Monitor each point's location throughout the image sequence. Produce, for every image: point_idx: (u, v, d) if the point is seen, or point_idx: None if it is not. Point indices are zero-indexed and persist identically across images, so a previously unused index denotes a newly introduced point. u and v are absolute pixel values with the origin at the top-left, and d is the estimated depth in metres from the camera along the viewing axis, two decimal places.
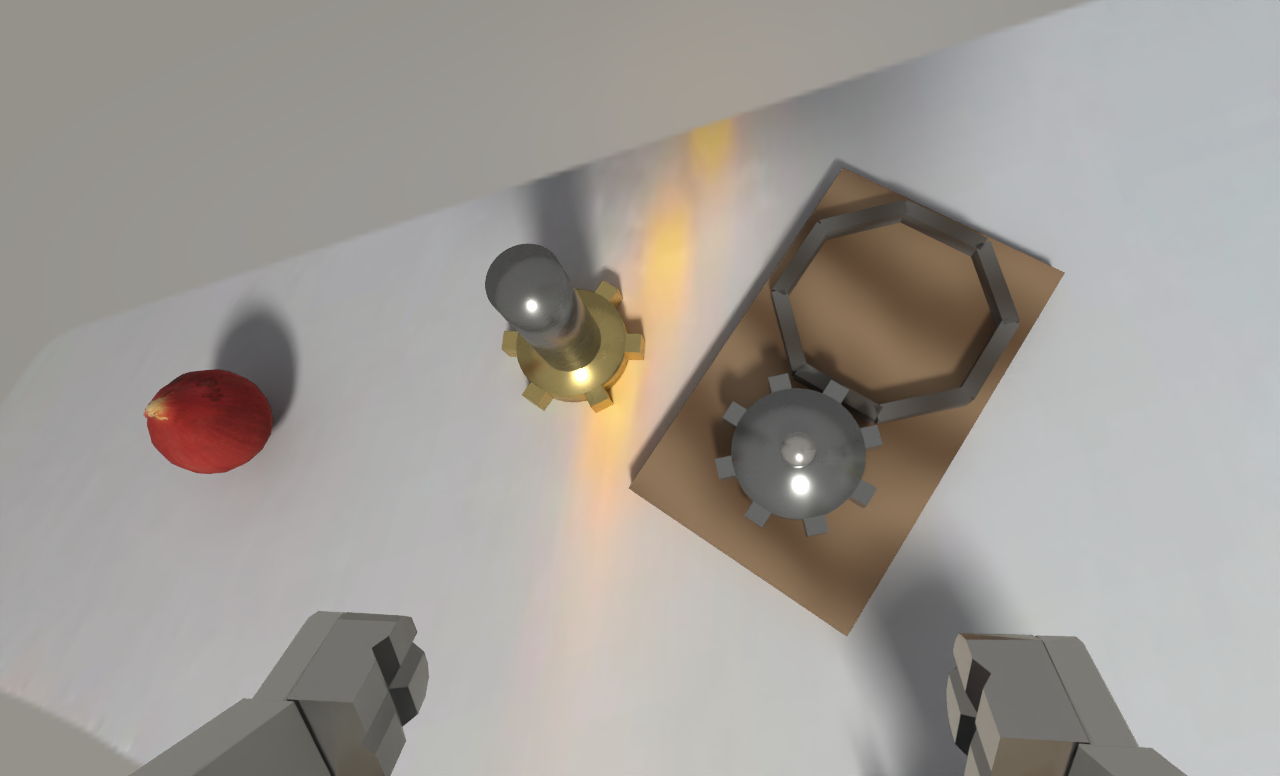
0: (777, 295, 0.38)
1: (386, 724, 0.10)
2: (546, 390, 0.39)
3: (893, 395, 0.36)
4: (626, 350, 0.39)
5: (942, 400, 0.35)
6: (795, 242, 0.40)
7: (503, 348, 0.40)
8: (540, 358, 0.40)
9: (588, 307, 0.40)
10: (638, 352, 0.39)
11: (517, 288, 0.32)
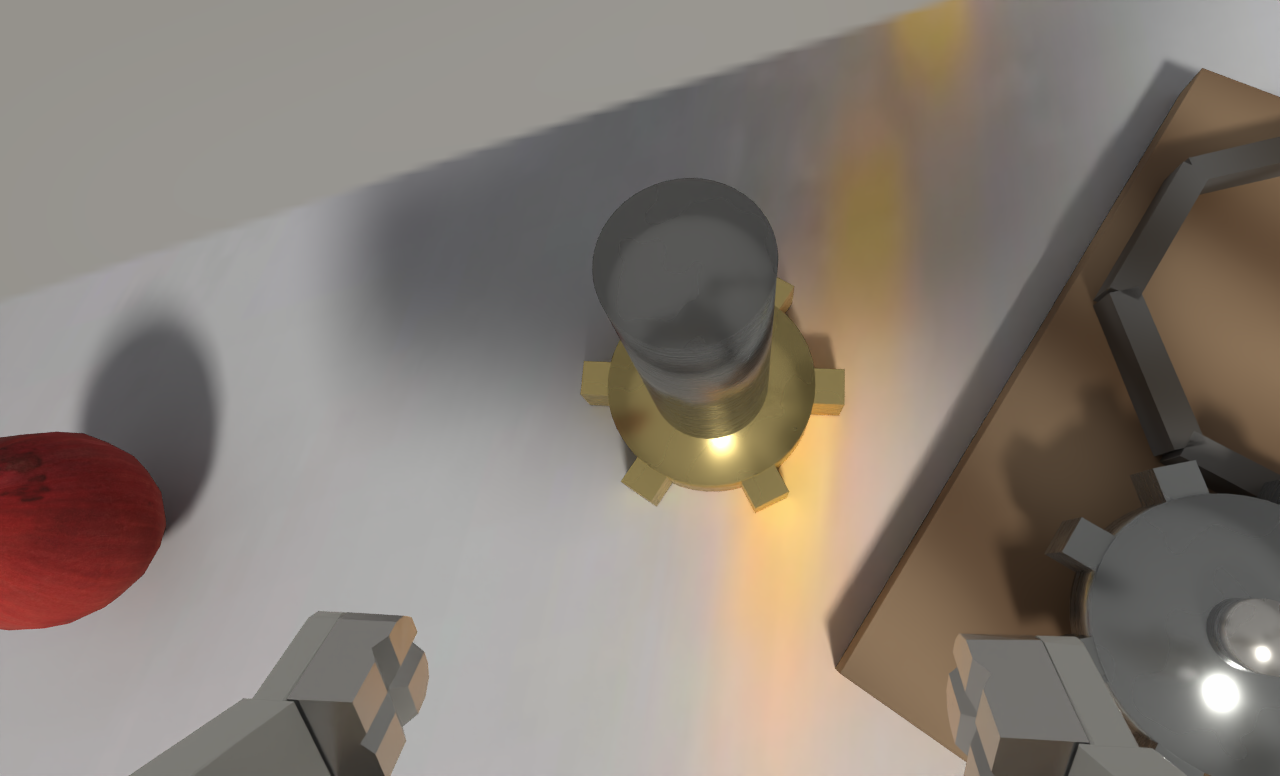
0: (1122, 299, 0.20)
1: (386, 724, 0.10)
2: (667, 473, 0.21)
3: None
4: (818, 400, 0.21)
5: None
6: (1127, 201, 0.21)
7: (583, 393, 0.22)
8: (654, 413, 0.22)
9: None
10: (841, 404, 0.21)
11: (671, 280, 0.13)
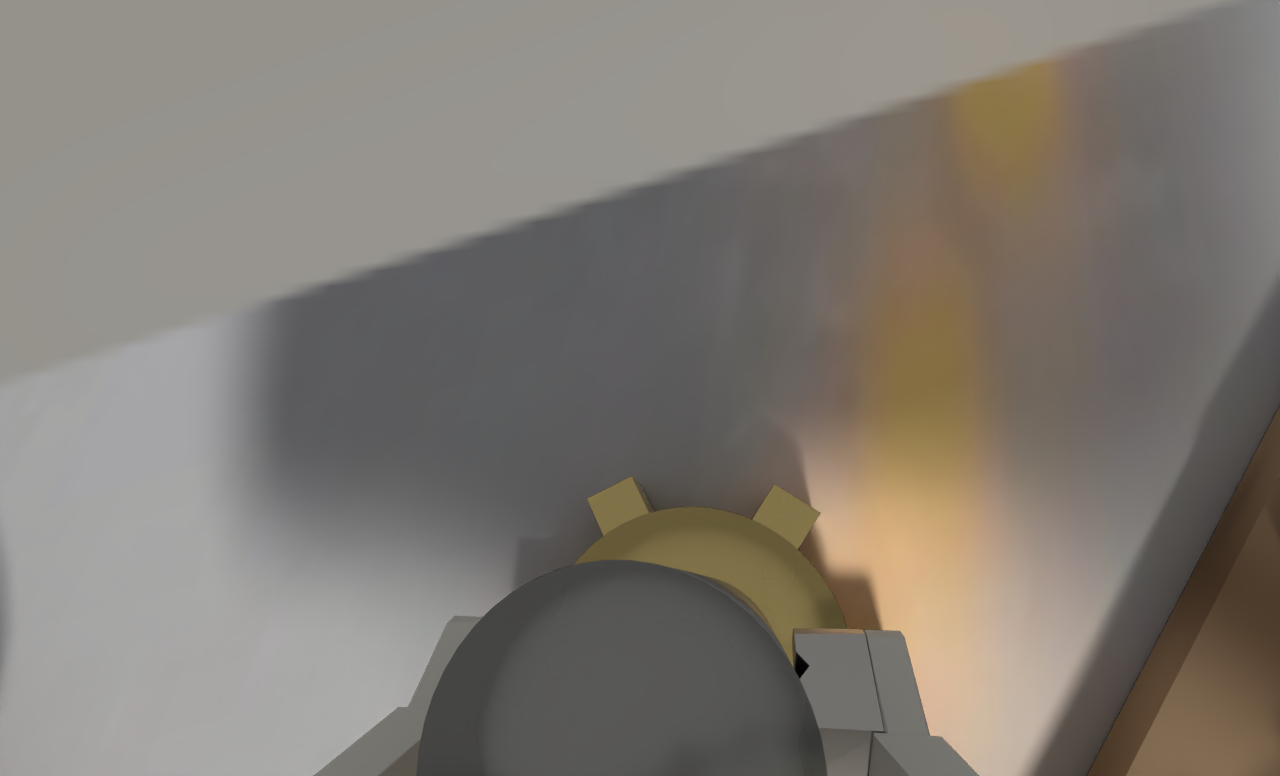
0: None
1: None
2: None
3: None
4: None
5: None
6: None
7: None
8: None
9: (738, 564, 0.15)
10: None
11: None
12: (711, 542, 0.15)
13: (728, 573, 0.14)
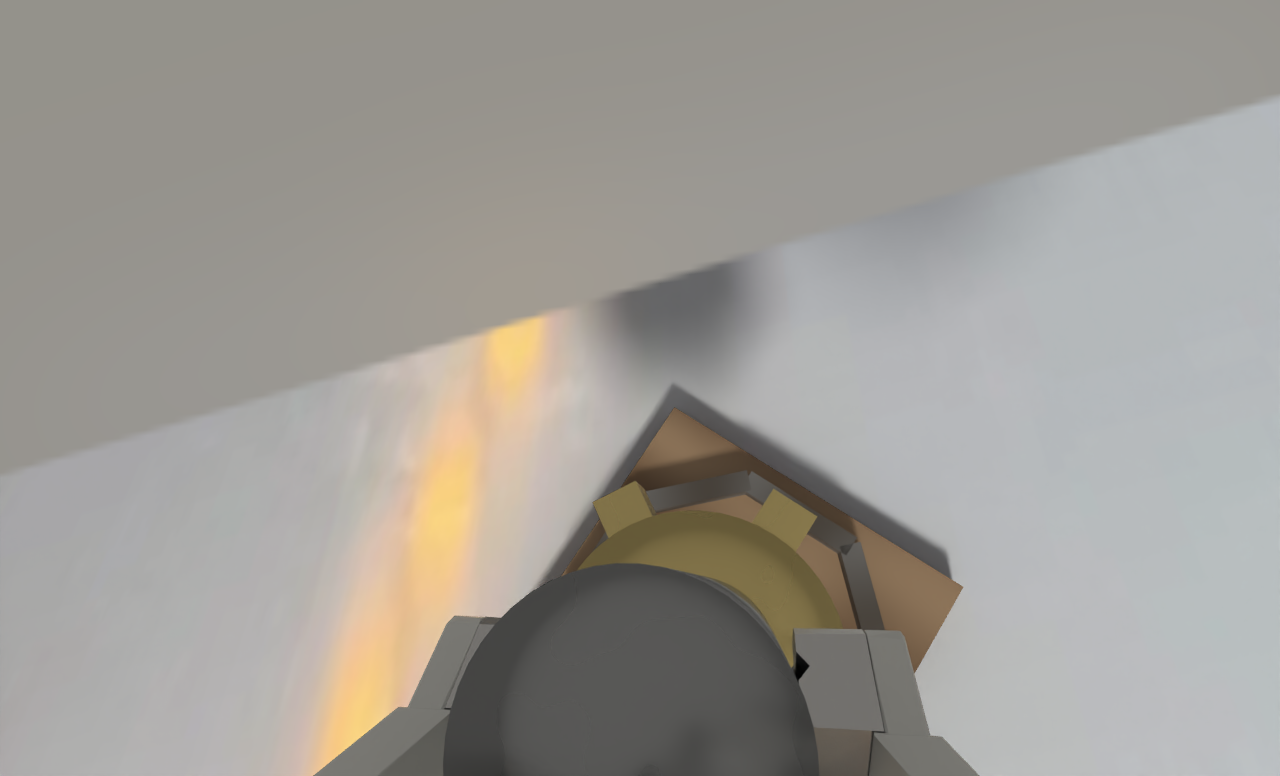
0: None
1: None
2: None
3: None
4: None
5: None
6: None
7: None
8: None
9: (739, 566, 0.15)
10: None
11: None
12: (712, 544, 0.15)
13: (728, 574, 0.15)
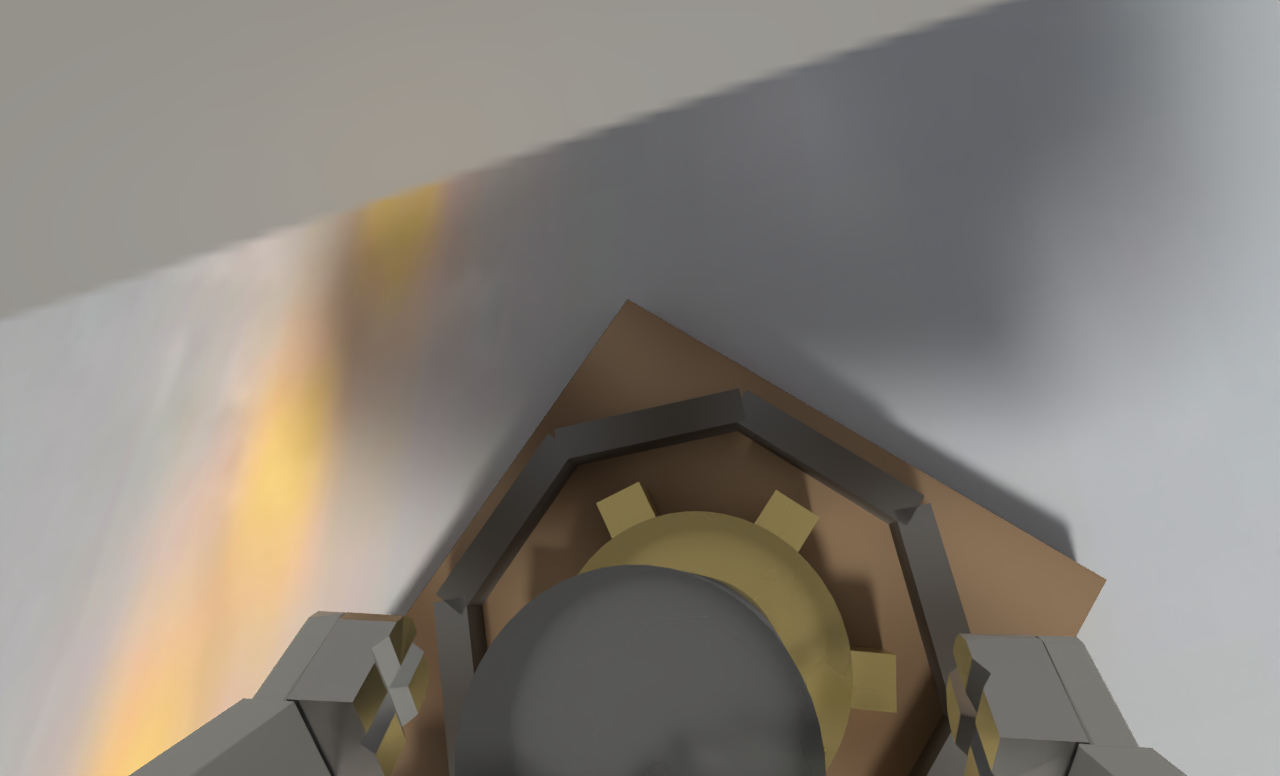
0: (444, 612, 0.16)
1: (386, 724, 0.10)
2: None
3: None
4: (857, 704, 0.14)
5: None
6: (515, 466, 0.18)
7: None
8: None
9: (741, 566, 0.15)
10: (891, 710, 0.14)
11: None
12: (715, 545, 0.15)
13: (731, 575, 0.15)
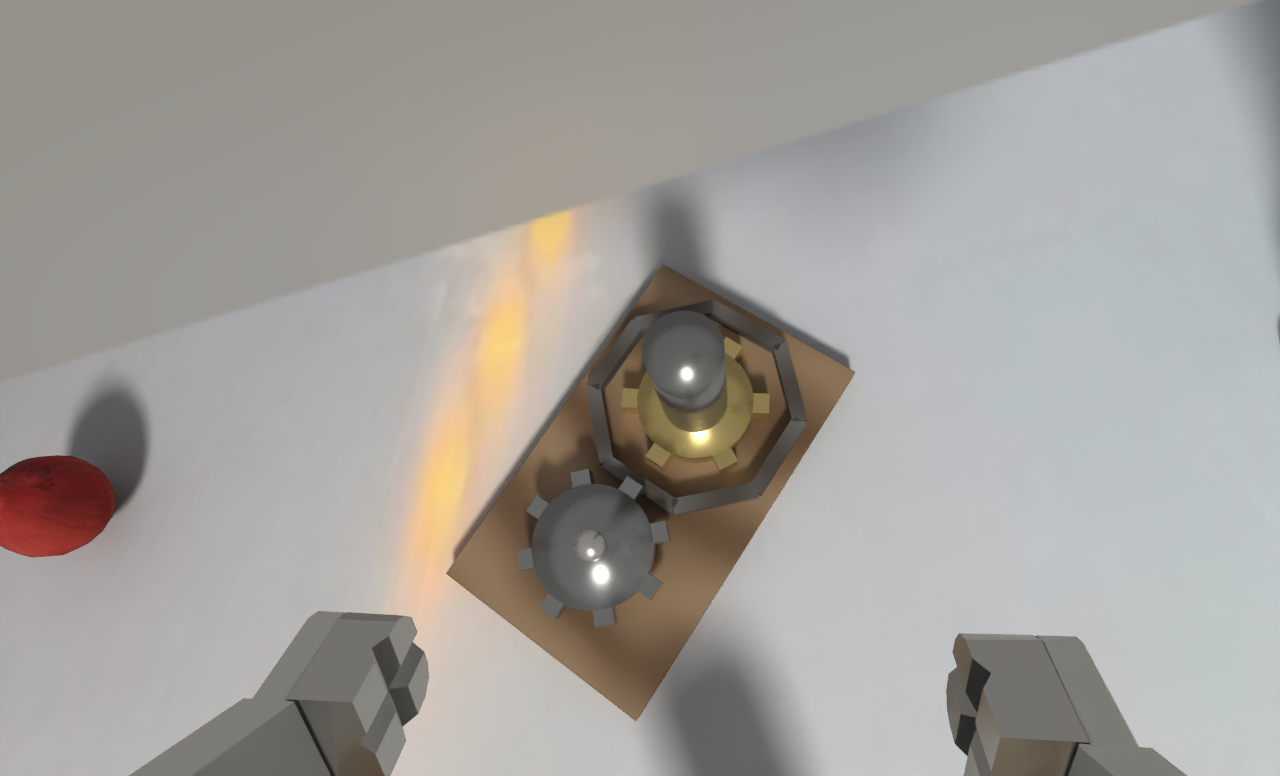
0: (591, 389, 0.40)
1: (386, 724, 0.10)
2: (671, 451, 0.38)
3: (693, 487, 0.39)
4: (754, 411, 0.38)
5: (732, 495, 0.37)
6: (615, 336, 0.42)
7: (623, 406, 0.39)
8: (663, 417, 0.39)
9: None
10: (767, 413, 0.38)
11: (677, 358, 0.30)
12: None
13: None
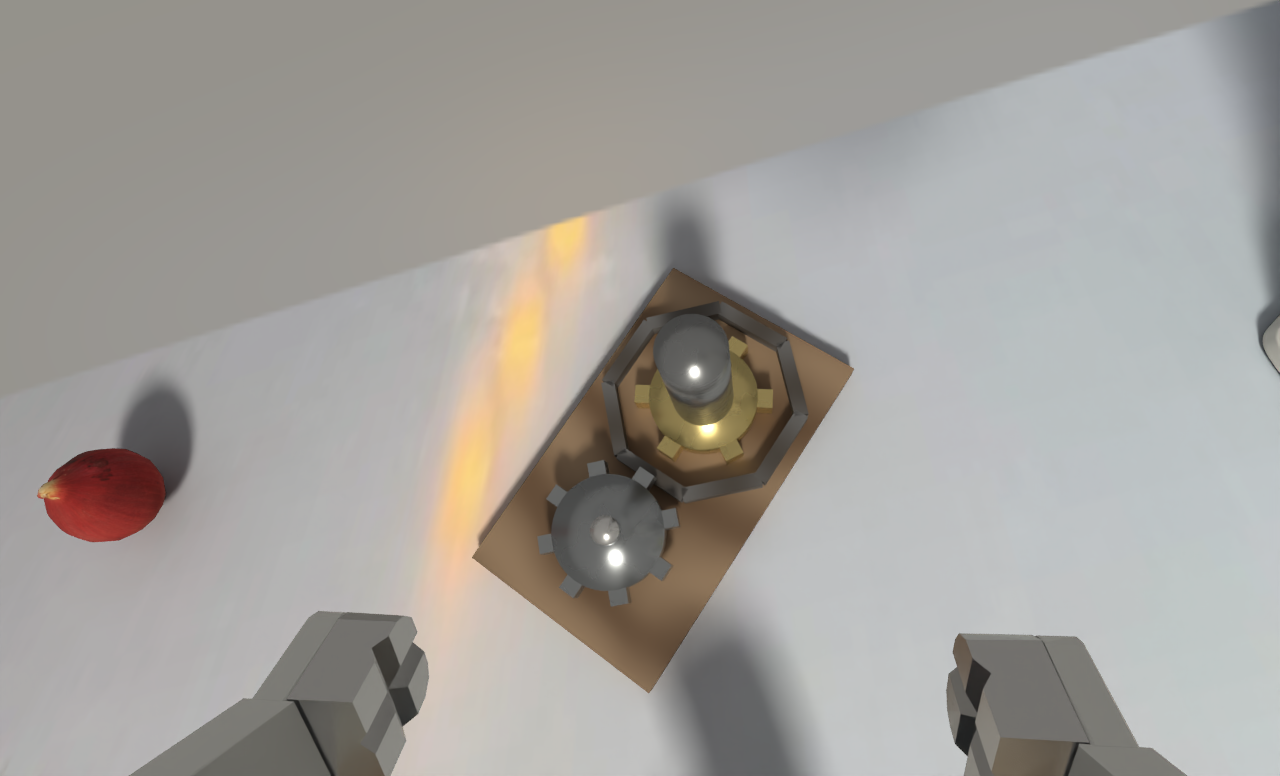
0: (605, 386, 0.43)
1: (386, 724, 0.10)
2: (681, 443, 0.41)
3: (701, 477, 0.41)
4: (759, 405, 0.41)
5: (738, 484, 0.40)
6: (628, 335, 0.45)
7: (636, 401, 0.42)
8: (673, 412, 0.41)
9: None
10: (770, 407, 0.41)
11: (686, 357, 0.33)
12: None
13: None
